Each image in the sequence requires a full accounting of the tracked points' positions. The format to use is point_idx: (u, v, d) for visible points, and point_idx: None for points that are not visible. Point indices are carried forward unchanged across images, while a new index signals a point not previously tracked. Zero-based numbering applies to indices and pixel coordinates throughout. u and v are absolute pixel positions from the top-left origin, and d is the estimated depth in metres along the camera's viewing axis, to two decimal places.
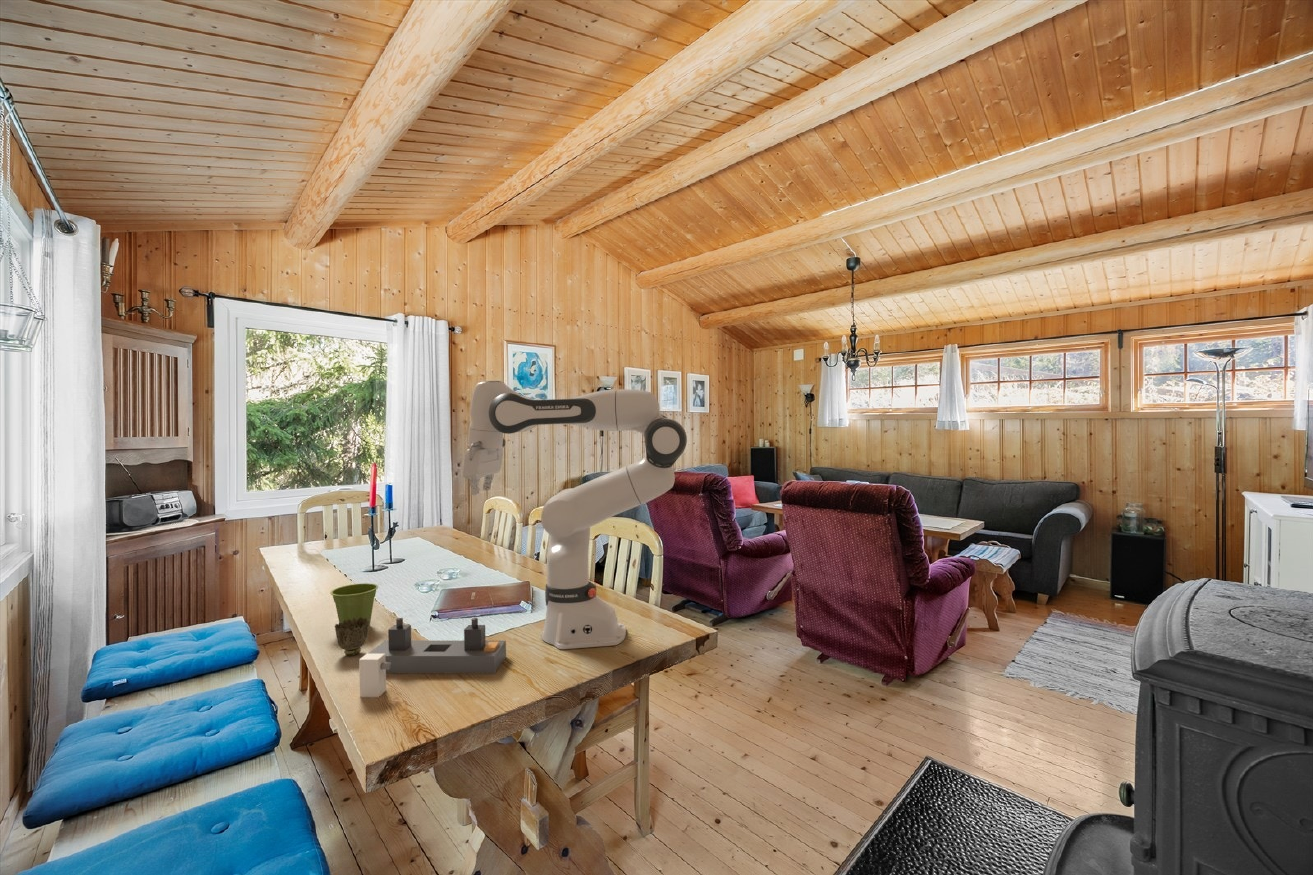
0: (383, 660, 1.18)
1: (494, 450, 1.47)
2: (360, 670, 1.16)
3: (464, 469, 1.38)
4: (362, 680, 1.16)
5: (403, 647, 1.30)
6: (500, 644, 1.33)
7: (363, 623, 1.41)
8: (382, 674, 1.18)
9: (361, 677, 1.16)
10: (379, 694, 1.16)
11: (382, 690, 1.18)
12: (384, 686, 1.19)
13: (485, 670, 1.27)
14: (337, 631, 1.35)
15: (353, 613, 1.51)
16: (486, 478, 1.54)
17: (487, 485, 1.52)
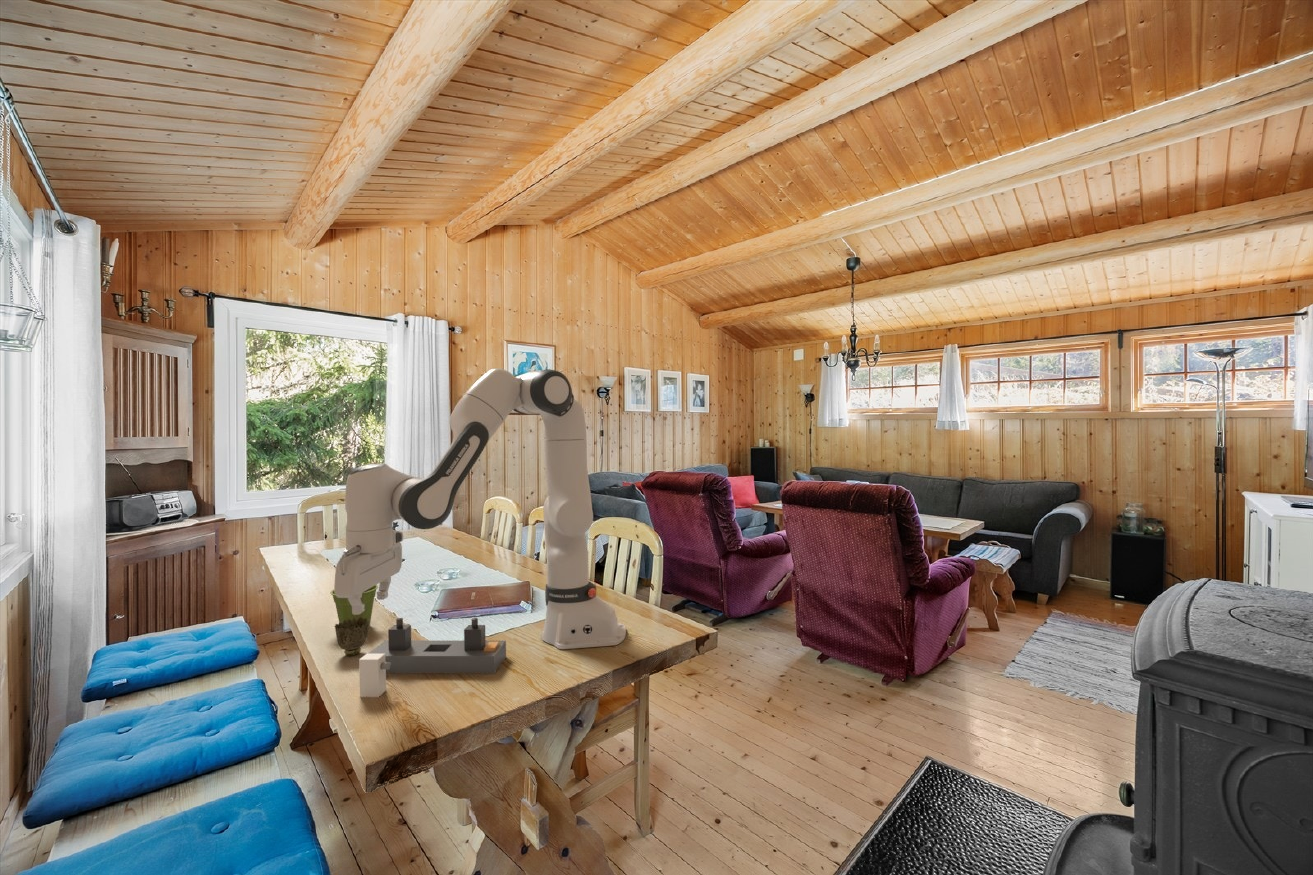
0: (383, 660, 1.18)
1: (381, 552, 1.16)
2: (360, 670, 1.16)
3: (335, 587, 1.07)
4: (362, 680, 1.16)
5: (403, 647, 1.30)
6: (500, 644, 1.33)
7: (363, 623, 1.41)
8: (382, 674, 1.18)
9: (361, 677, 1.16)
10: (379, 694, 1.16)
11: (382, 690, 1.18)
12: (384, 686, 1.19)
13: (485, 670, 1.27)
14: (337, 631, 1.35)
15: None
16: (381, 583, 1.23)
17: (382, 593, 1.21)
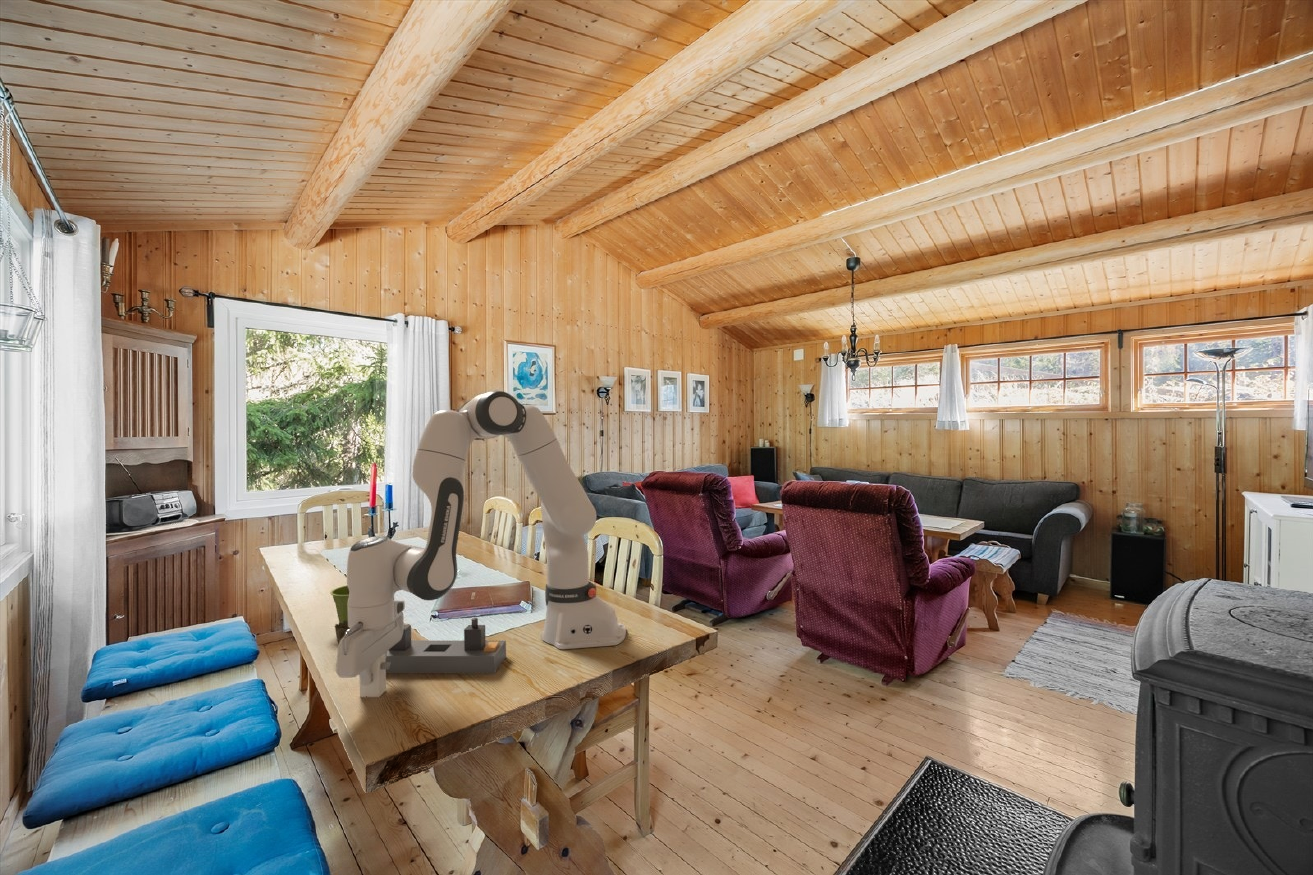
0: (383, 660, 1.18)
1: (383, 626, 1.16)
2: None
3: (338, 667, 1.07)
4: None
5: (403, 647, 1.30)
6: (500, 644, 1.33)
7: None
8: (382, 674, 1.18)
9: None
10: (379, 694, 1.16)
11: (382, 690, 1.18)
12: (384, 686, 1.19)
13: (485, 670, 1.27)
14: (337, 631, 1.35)
15: None
16: None
17: None
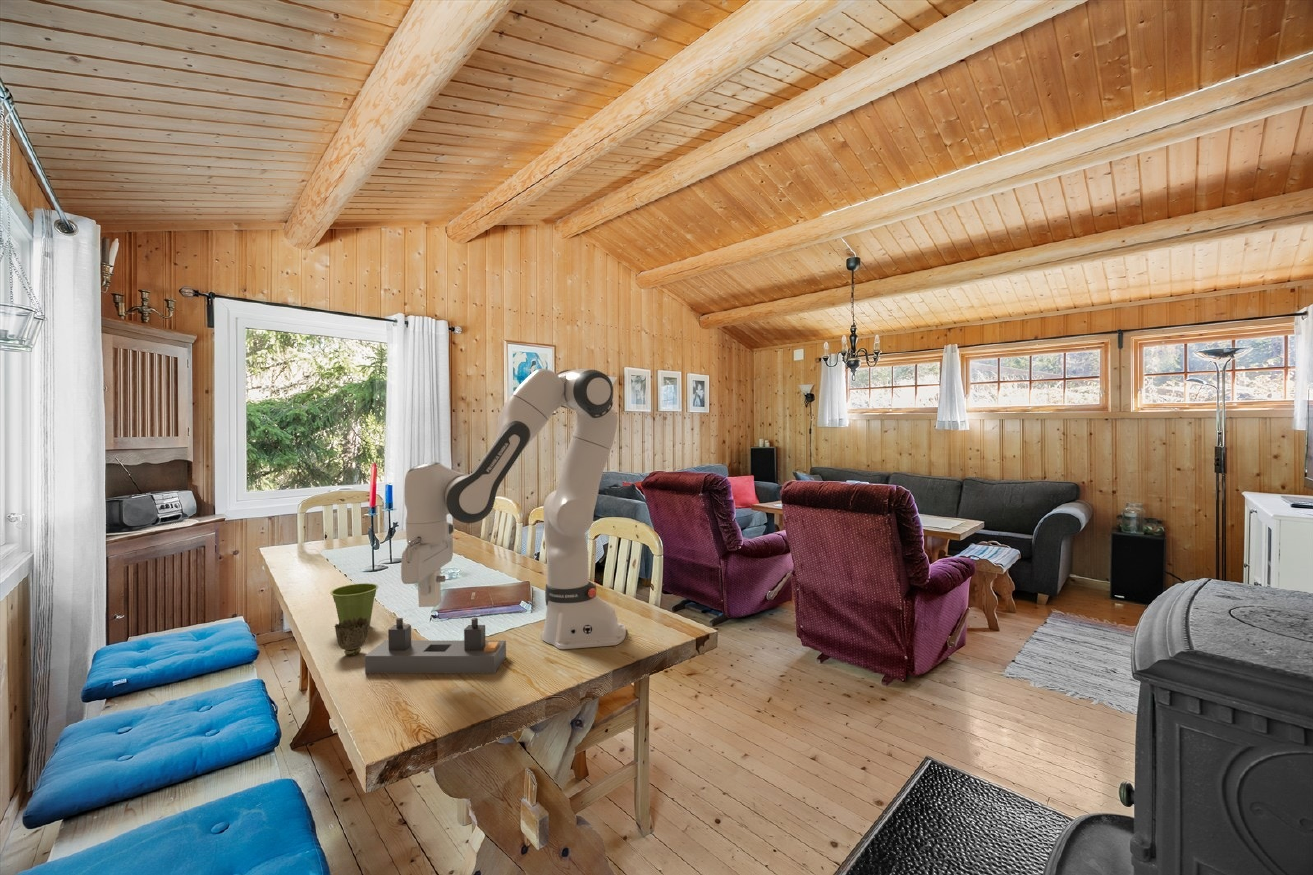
0: (438, 574, 1.30)
1: (438, 542, 1.28)
2: None
3: (402, 574, 1.19)
4: None
5: (403, 647, 1.30)
6: (500, 644, 1.33)
7: (363, 623, 1.41)
8: (438, 586, 1.29)
9: (419, 589, 1.28)
10: (436, 604, 1.28)
11: (438, 601, 1.29)
12: (440, 598, 1.30)
13: (485, 670, 1.27)
14: (337, 631, 1.35)
15: (353, 613, 1.51)
16: None
17: None
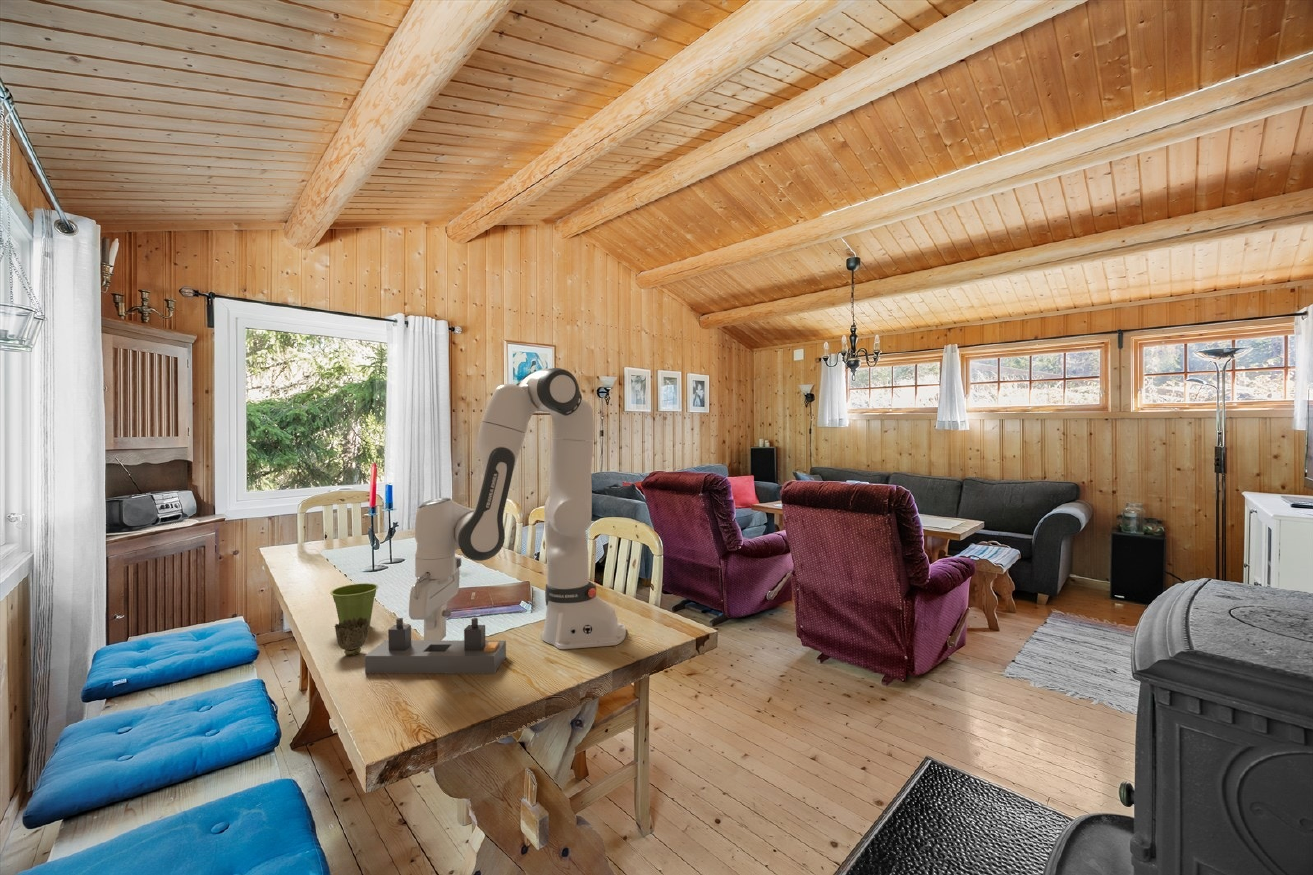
0: (444, 608, 1.32)
1: (446, 577, 1.30)
2: None
3: (410, 610, 1.21)
4: None
5: (403, 647, 1.30)
6: (500, 644, 1.33)
7: (363, 623, 1.41)
8: (443, 621, 1.31)
9: (425, 622, 1.30)
10: (441, 638, 1.30)
11: (443, 635, 1.31)
12: (444, 632, 1.32)
13: (485, 670, 1.27)
14: (337, 631, 1.35)
15: (353, 613, 1.51)
16: None
17: None
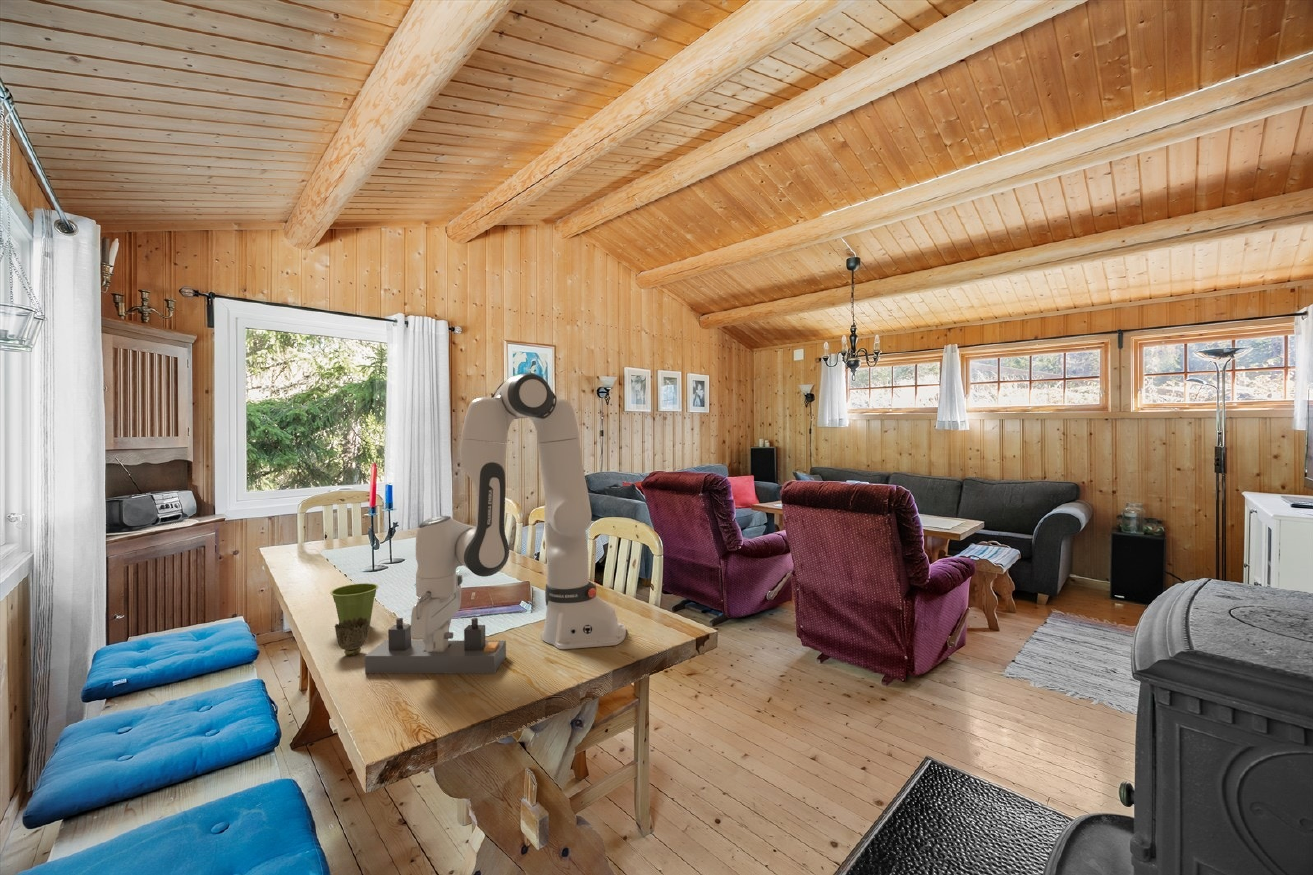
0: (446, 630, 1.32)
1: (447, 596, 1.30)
2: None
3: (412, 630, 1.21)
4: None
5: (403, 647, 1.30)
6: (500, 644, 1.33)
7: (363, 623, 1.41)
8: (446, 643, 1.32)
9: None
10: None
11: None
12: None
13: (485, 670, 1.27)
14: (337, 631, 1.35)
15: (353, 613, 1.51)
16: None
17: None
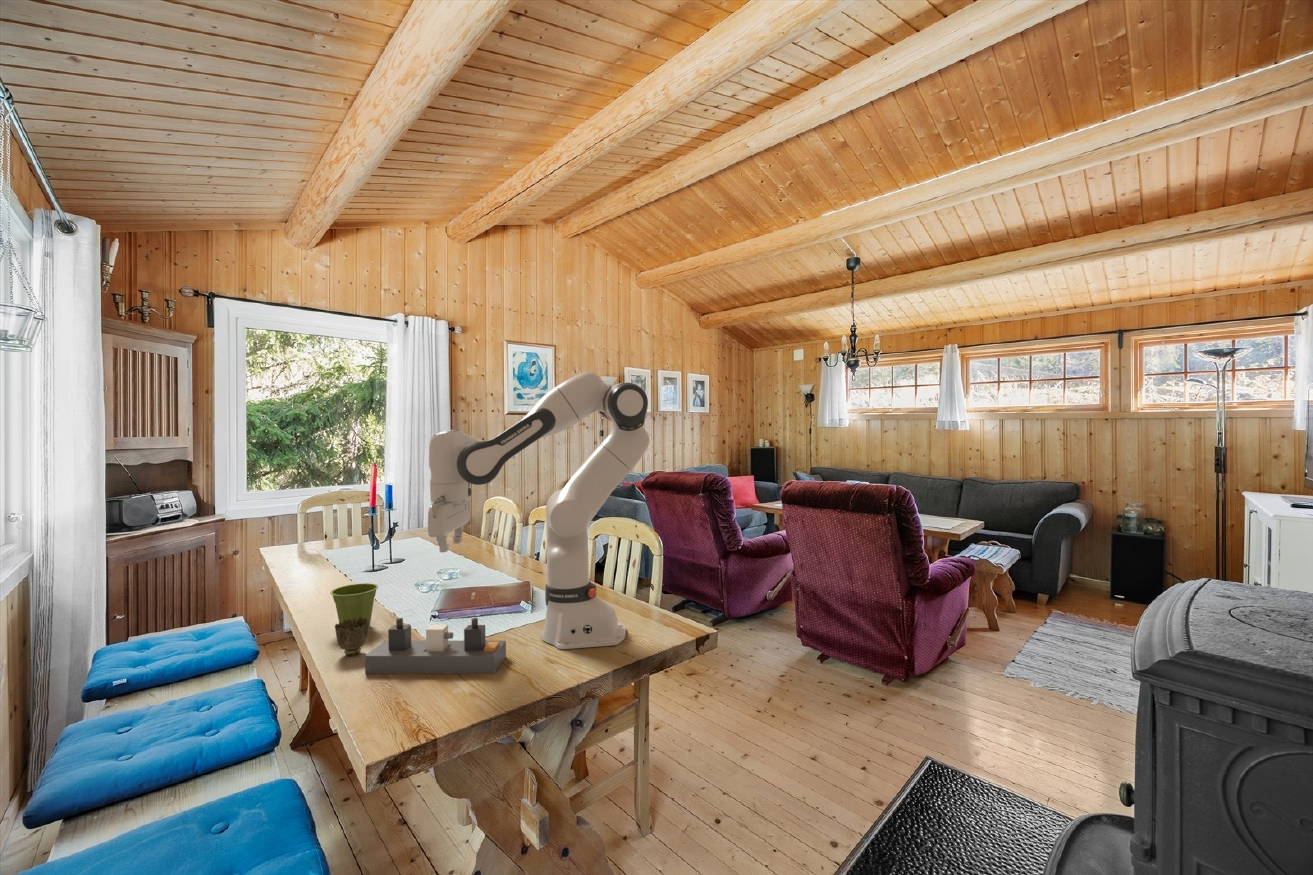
0: (446, 630, 1.32)
1: (459, 502, 1.40)
2: (427, 639, 1.30)
3: (429, 528, 1.31)
4: (428, 647, 1.30)
5: (403, 647, 1.30)
6: (500, 644, 1.33)
7: (363, 623, 1.41)
8: (446, 643, 1.32)
9: (428, 645, 1.30)
10: None
11: None
12: None
13: (485, 670, 1.27)
14: (337, 631, 1.35)
15: (353, 613, 1.51)
16: (456, 530, 1.47)
17: (457, 538, 1.45)
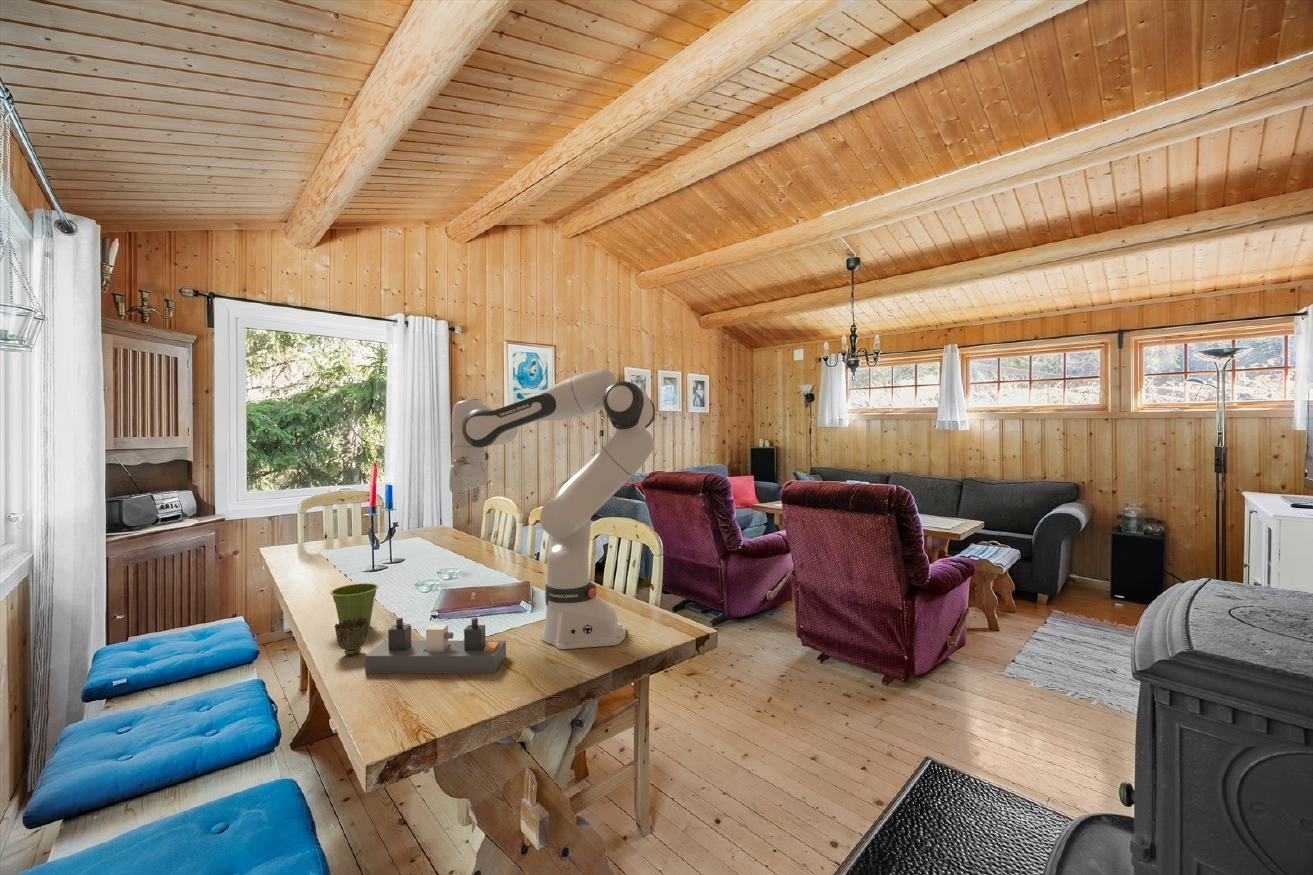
0: (446, 630, 1.32)
1: (477, 464, 1.57)
2: (427, 639, 1.30)
3: (450, 484, 1.48)
4: (428, 647, 1.30)
5: (403, 647, 1.30)
6: (500, 644, 1.33)
7: (363, 623, 1.41)
8: (446, 643, 1.32)
9: (428, 645, 1.30)
10: None
11: None
12: None
13: (485, 670, 1.27)
14: (337, 631, 1.35)
15: (353, 613, 1.51)
16: (473, 491, 1.64)
17: (475, 497, 1.63)
